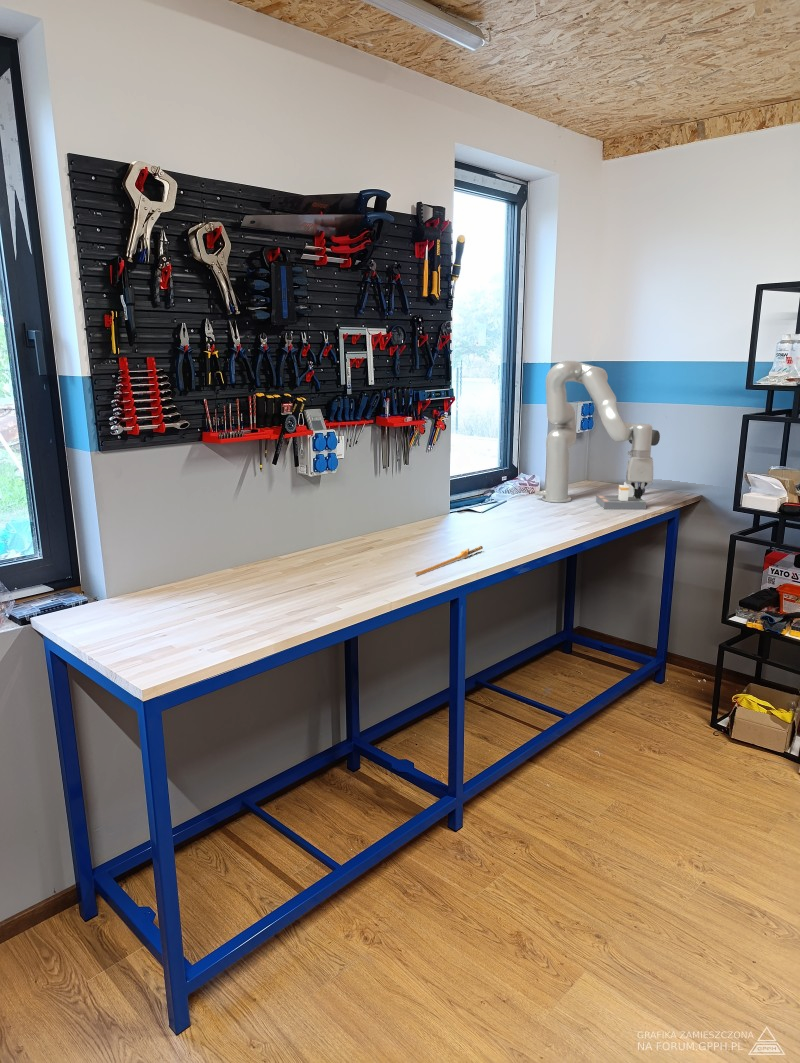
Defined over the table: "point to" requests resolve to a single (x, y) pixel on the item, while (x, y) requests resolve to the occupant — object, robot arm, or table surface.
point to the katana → (451, 560)
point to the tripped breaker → (623, 492)
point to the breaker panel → (615, 503)
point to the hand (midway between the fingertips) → (637, 498)
